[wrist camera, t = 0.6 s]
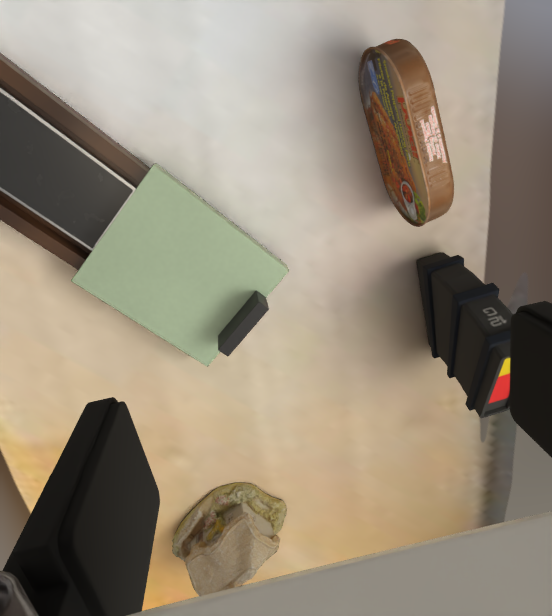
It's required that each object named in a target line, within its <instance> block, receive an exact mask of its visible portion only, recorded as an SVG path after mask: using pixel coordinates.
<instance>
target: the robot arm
mask: <svg viewBox="0 0 552 616" xmlns="http://www.w3.org/2000/svg"><path fill="white" fill-rule="evenodd" d="M509 406H510V412H511V415H512V417H513V419H514V421H515V422H516V423H517V424H518V425H519V426H520V427H521V428H522V429H523V430H524V431H525V432H526V433H527V434H528V435H529V436H530V437H531V438H532V439H533V440H534V441H536V443H537V444H538V445H540V447H541V448H543V449H544V451H546V452H547V453H548V454H549V455H550V456H551V457H552V304H551V303H549V302H546V301H543V302H539V303H534V304H530V305H525V306H521V307H519V308H518V310H517V312H516V314H514V315H512V317H511V336H510V405H509ZM159 505H160V497H159V491H158V488H157V485H156V482H155V480H154V477H153V474H152V472H151V469H150V466H149V464H148V461H147V458H146V456H145V453H144V450H143V448H142V445H141V442H140V440H139V437H138V434H137V432H136V429H135V426H134V424H133V421H132V418H131V416H130V413H129V410H128V408H127V405H126V404H125V402H123V401H122V402H118V401H117V400H116V399H115V398H113V397H112V398H107V399H103V400H98V401H94V402H90V403H88V404H87V405H86V407H85V409H84V411H83V413H82V415H81V416H80V418H79V420H78V422H77V424H76V426H75V428H74V430H73V432H72V434H71V436H70V438H69V440H68V442H67V444H66V446H65V448H64V450H63V452H62V454H61V456H60V458H59V460H58V462H57V464H56V466H55V468H54V470H53V472H52V474H51V475H50V477H49V479H48V481H47V483H46V485H45V487H44V489H43V491H42V493H41V495H40V497H39V499H38V501H37V503H36V505H35V507H34V509H33V511H32V513H31V515H30V517H29V519H28V521H27V523H26V525H25V527H24V529H23V531H22V533H21V535H20V537H19V539H18V541H17V543H16V545H15V547H14V549H13V551H12V553H11V555H10V557H9V559H8V561H7V563H6V565H5V567H4V569H3V571H0V616H552V511H550V512H546V513H541V514H537V515H532V516H528V517H524V518H520V519H515V520H511V521H507V522H503V523H498V524H494V525H490V526H486V527H482V528H477V529H473V530H469V531H465V532H461V533H457V534H452V535H448V536H444V537H440V538H436V539H431V540H427V541H423V542H419V543H415V544H411V545H407V546H402V547H398V548H394V549H390V550H386V551H382V552H378V553H373V554H369V555H365V556H361V557H357V558H353V559H349V560H344V561H340V562H336V563H332V564H328V565H324V566H320V567H316V568H312V569H308V570H304V571H300V572H296V573H292V574H288V575H284V576H280V577H275V578H271V579H267V580H263V581H259V582H255V583H251V584H247V585H243V586H239V587H235V588H231V589H227V590H223V591H219V592H215V593H211V594H207V595H203V596H199V597H195V598H191V599H187V600H183V601H179V602H175V603H172V604H168V605H164V606H160V607H156V608H152V609H148V610H145V611H142V606H143V600H144V594H145V588H146V582H147V576H148V571H149V565H150V559H151V553H152V547H153V541H154V535H155V529H156V523H157V517H158V511H159Z"/></svg>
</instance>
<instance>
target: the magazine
mask: <svg viewBox="0 0 552 616" xmlns="http://www.w3.org/2000/svg"><path fill="white" fill-rule="evenodd" d="M417 268H418V274H419V281H420V288H421V294H422V301H423V307H424V314H425V321H426V327H427V334H428V340H429V345H430V347H431V350H432V356H433V357H434V358H438V357H441V359H442V360H443V361H444V362H445V364H446V365H447V366H448V368H447V375H448V377H449V378H452V377H456V379H457V380H458V382H459V383H460V384H461V386H462V388H463V390H464V391H465V393H466V395H467V396H468V397H467V401H466V406H467V407H468V409H469V410H473V409H475V410H476V412H477V413H478V415H479V417H480V418H484V417H488V416H491V415H494V414H497V413H501V412H504V411H507V410H509V409H510V406H509V405H510V336H511V317H512V315H513V314H512V313H511V311H510V310H509V309H508V308H507V307H506V306H505V305H504V304H503V303H502V302H501V301H500V300H499V299H498V294H499V288H497V286H496V285H495V284H494V283H490V284H487V285H485V284H484V283H483V282H482V281H480V280H479V279H478V278H477V277H476V276H475V275H474V274H473V273H472V272H471V271H469V270H468V269H467V268H465V267H464V258H462V257H461V256H459V255H456V256H453V257H449V256H448V255H446V254H445V253H438V254H435V255H432V256H429V257H425V258H422V259H419V260H417Z"/></svg>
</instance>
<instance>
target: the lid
mask: <svg viewBox="0 0 552 616" xmlns="http://www.w3.org/2000/svg"><path fill="white" fill-rule="evenodd" d="M288 272H289V269H288V267H287V265H286V264H285V263H283V262H282V261H281V260H280V259H278V258H277V257H276V256H274V255H273V254H272V253H271V252H269V251H268V250H267V249H265V248H264V247H263V246H262V245H260V244H259V243H258V242H256V241H255V240H254V239H253V238H251V237H250V236H249V235H247V234H246V233H245V232H244V231H242V230H241V229H240V228H238V227H237V226H236V225H235V224H233V223H232V222H231V221H229V220H228V219H227V218H226V217H224V216H223V215H222V214H220V213H219V212H218V211H217V210H215V209H214V208H213V207H211V206H210V205H209V204H208V203H206V202H205V201H204V200H202V199H201V198H200V197H199V196H197V195H196V194H195V193H194V192H192V191H191V190H190V189H188V188H187V187H186V186H185V185H183V184H182V183H181V182H179V181H178V180H177V179H176V178H174V177H173V176H172V175H170V174H169V173H168V172H167V171H165V170H164V169H163V168H161V167H160V166H159V165H158V164H154V165H153V166H152V167H151V169H150V170H149V171H148V173H147V174H146V176H145V177H144V179H143V180H142V181H141V183H140V184H139V186H138V187H137V188H136V190H135V191H134V193H133V194H132V195H131V197H130V198H129V200H128V201H127V203H126V204H125V205H124V207H123V208H122V210H121V211H120V212H119V214H118V215H117V217H116V218H115V219H114V221H113V222H112V224H111V225H110V227H109V228H108V229H107V231H106V232H105V234H104V235H103V236H102V238H101V239H100V241H99V242H98V244H97V245H96V246H95V248H94V249H93V251H92V252H91V253H90V255H89V256H88V258H87V259H86V260H85V262H84V263H83V265H82V266H81V268H80V269H79V270H78V272H77V273H76V275H75V276H74V277H73V279H72V280H71V281H72V282H73V283H75V284H77V285H78V286H80V287H81V288H83V289H85V290H86V291H88V292H89V293H91V294H92V295H94V296H96V297H97V298H99V299H100V300H102V301H104V302H105V303H107V304H108V305H110V306H112V307H113V308H115V309H116V310H118V311H120V312H121V313H123V314H124V315H126V316H128V317H129V318H131V319H132V320H134V321H135V322H137V323H139V324H140V325H142V326H143V327H145V328H147V329H148V330H150V331H151V332H153V333H155V334H156V335H158V336H159V337H161V338H163V339H164V340H166V341H167V342H169V343H170V344H172V345H174V346H175V347H177V348H178V349H180V350H182V351H183V352H185V353H186V354H188V355H190V356H191V357H193V358H194V359H196V360H198V361H199V362H201V363H202V364H204V365H205V366H207V367H208V366H209V365H210V363H211V362H212V361H213V360H214V359H215V357H216V356H217V355H218V354H219V353H220V352H222V353H223V354H225V355H226V356H229V355H230V354H231V353H232V351H233V350H234V349H235V348H236V347H237V346H238V345H239V343H240V342H241V341H242V340H243V339H244V338H245V336H246V335H247V334H248V333H249V332H250V331H251V329H252V328H253V327H254V326H255V325H256V324H257V322H258V321H259V320H260V319H261V318H262V317H263V315H264V314H265V313H266V312H267V311H268V310H269V308H268V304H267V300H266V297H267V296H268V295H269V294H270V293H271V292H272V290H273V289H274V288H275V287H276V286H277V284H278V283H279V282H280V281H281V280H282V279H283V277H284V276H285V275H286V274H287V273H288Z"/></svg>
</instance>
